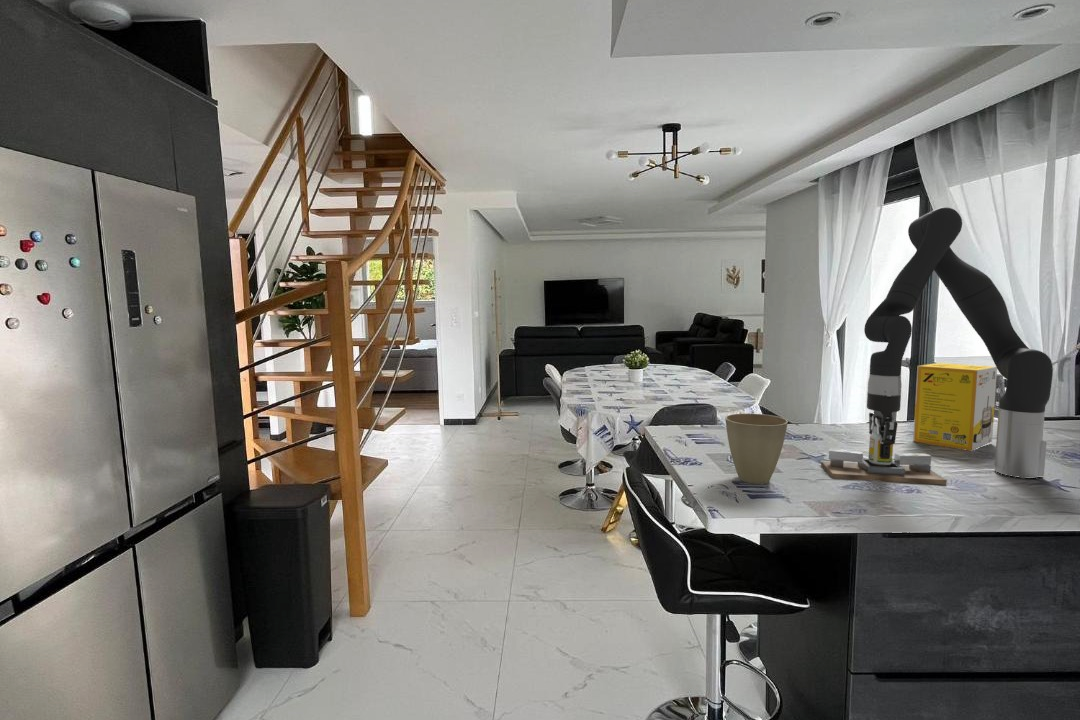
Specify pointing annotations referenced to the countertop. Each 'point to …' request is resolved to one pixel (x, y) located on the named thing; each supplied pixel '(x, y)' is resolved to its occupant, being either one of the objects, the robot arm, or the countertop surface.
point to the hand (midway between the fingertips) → (880, 455)
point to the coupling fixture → (914, 460)
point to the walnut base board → (858, 473)
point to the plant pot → (755, 444)
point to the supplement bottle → (877, 450)
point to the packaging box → (955, 405)
